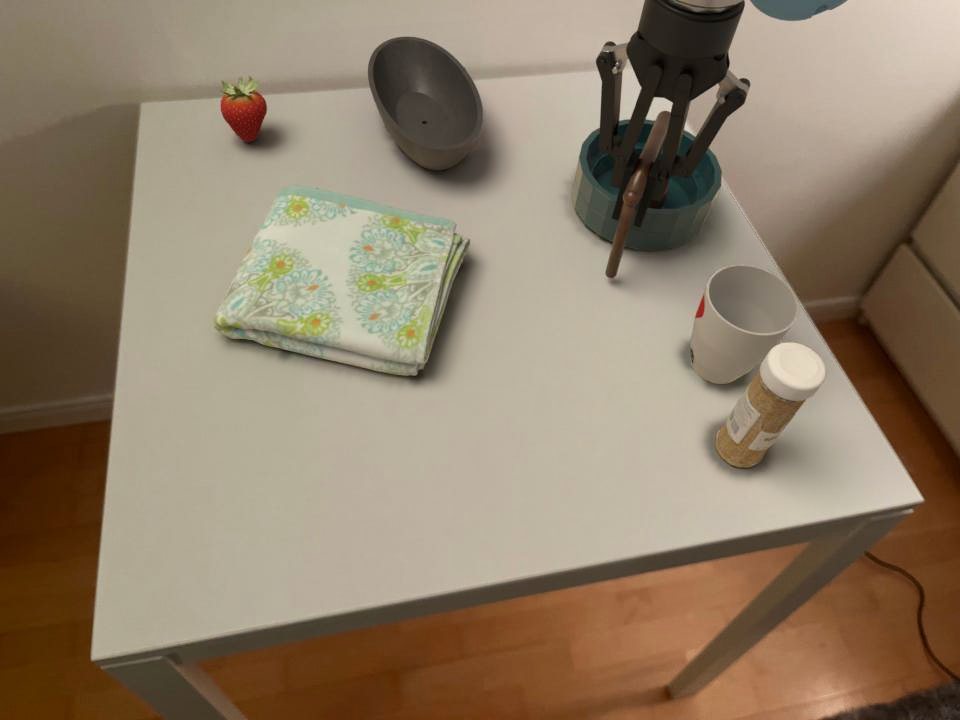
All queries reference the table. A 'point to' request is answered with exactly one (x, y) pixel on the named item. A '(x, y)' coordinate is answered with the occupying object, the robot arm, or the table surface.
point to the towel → (344, 281)
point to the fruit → (243, 108)
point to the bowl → (425, 101)
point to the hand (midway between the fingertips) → (629, 214)
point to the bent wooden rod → (638, 189)
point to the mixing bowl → (659, 226)
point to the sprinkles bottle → (770, 403)
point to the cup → (739, 321)
